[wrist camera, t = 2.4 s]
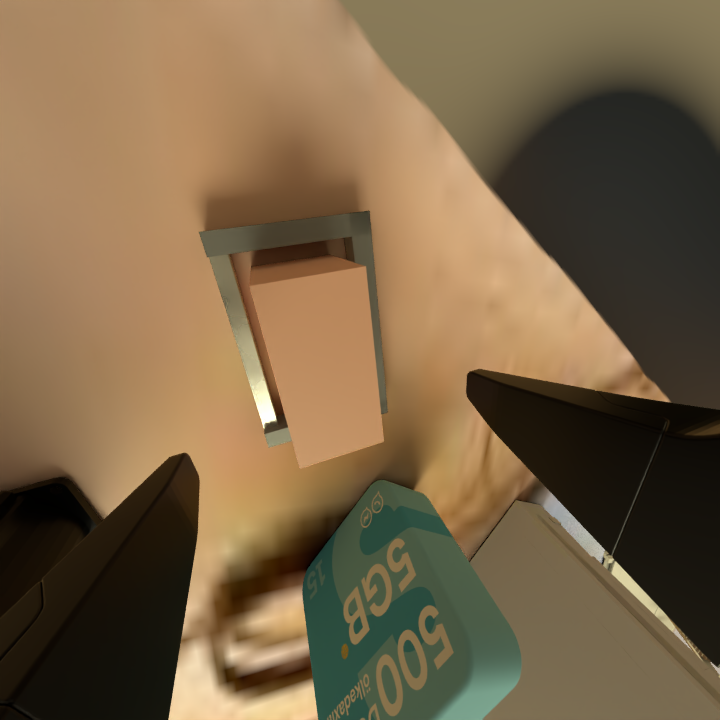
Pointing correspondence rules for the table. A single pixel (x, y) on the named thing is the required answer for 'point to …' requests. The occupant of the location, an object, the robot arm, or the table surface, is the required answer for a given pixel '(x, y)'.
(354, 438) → the tall beige box
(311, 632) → the data package
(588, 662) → the game console
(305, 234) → the grey rectangular frame
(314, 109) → the table surface
